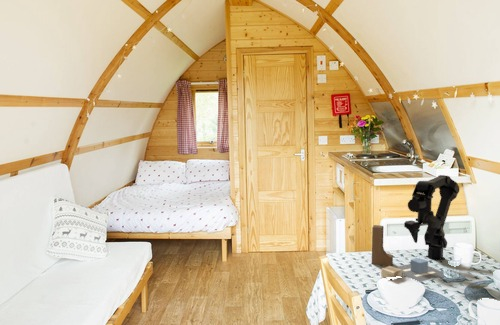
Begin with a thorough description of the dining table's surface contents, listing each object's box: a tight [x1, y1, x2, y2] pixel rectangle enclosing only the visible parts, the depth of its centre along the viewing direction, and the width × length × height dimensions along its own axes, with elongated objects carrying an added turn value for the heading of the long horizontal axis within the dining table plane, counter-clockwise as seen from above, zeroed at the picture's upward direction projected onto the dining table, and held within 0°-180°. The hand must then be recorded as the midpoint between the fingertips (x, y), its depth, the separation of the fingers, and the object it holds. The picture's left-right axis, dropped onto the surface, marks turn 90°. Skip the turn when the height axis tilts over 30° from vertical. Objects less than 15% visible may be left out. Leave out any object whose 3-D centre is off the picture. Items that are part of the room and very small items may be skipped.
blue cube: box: [410, 257, 429, 274], centre depth 194 cm, size 5×5×5 cm
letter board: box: [394, 263, 445, 283], centre depth 195 cm, size 18×18×1 cm
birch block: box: [380, 265, 403, 278], centre depth 189 cm, size 6×6×4 cm
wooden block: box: [371, 224, 394, 267], centre depth 204 cm, size 9×4×18 cm, turn 65°
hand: (423, 241), depth 203 cm, fingers open, 9 cm apart
